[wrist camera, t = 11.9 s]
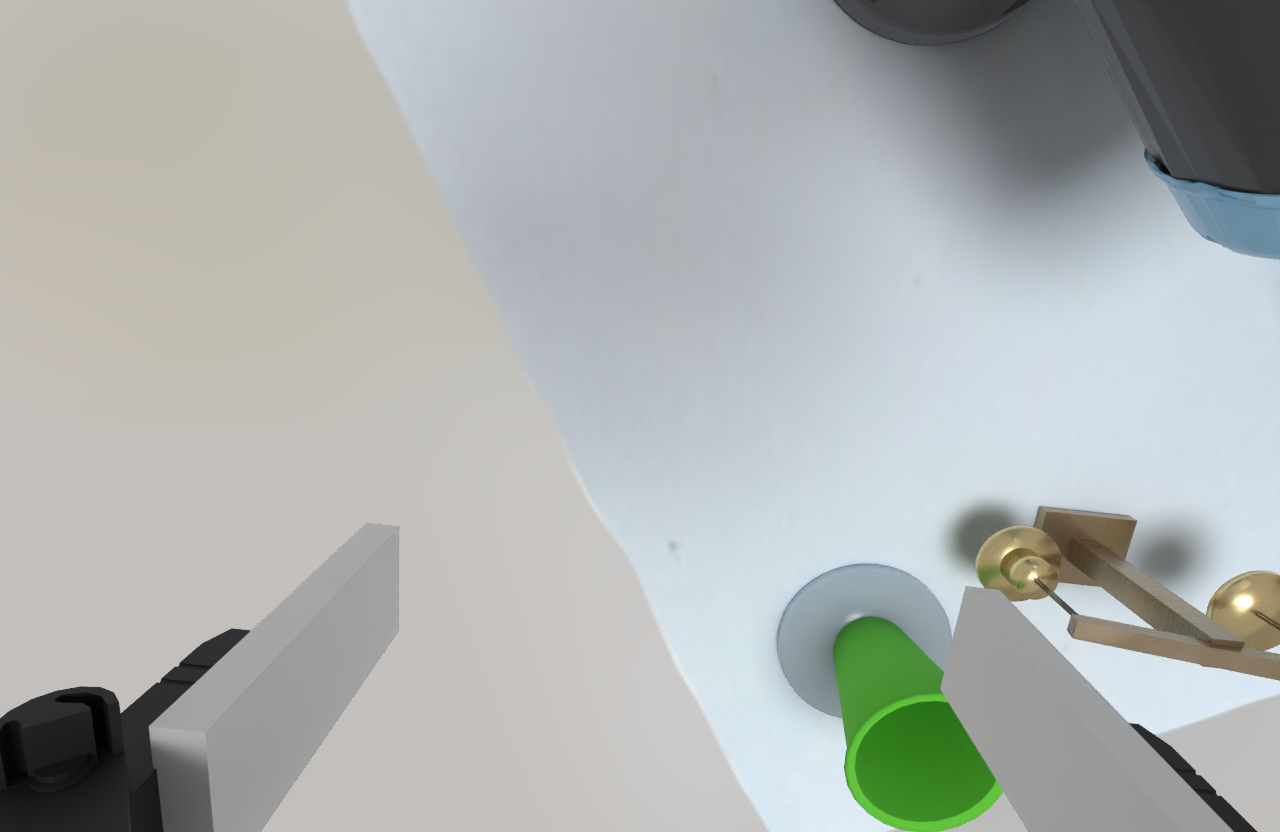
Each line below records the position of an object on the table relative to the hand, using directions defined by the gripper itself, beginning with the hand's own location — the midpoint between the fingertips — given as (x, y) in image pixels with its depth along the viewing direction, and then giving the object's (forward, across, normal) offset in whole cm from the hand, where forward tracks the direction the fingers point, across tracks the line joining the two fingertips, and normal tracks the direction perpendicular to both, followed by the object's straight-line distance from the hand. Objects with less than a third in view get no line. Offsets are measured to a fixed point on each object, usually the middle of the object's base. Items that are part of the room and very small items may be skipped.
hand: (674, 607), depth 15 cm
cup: (+28, +16, -18) cm, 37 cm away
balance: (+29, +29, -9) cm, 42 cm away
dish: (+29, +16, -18) cm, 37 cm away
